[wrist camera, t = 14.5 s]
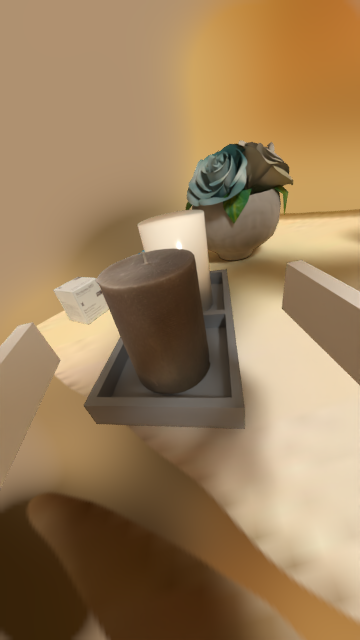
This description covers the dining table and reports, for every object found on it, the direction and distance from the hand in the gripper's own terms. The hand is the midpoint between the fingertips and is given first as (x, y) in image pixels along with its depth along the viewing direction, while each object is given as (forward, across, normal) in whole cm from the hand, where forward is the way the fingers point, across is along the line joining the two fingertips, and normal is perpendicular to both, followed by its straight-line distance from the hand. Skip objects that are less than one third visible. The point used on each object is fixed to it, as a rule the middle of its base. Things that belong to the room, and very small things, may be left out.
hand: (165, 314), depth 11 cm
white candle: (+25, +2, -15) cm, 29 cm away
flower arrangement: (+47, +20, -16) cm, 53 cm away
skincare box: (+31, -18, -16) cm, 39 cm away
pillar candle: (+10, -2, -15) cm, 18 cm away
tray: (+18, +1, -16) cm, 24 cm away
